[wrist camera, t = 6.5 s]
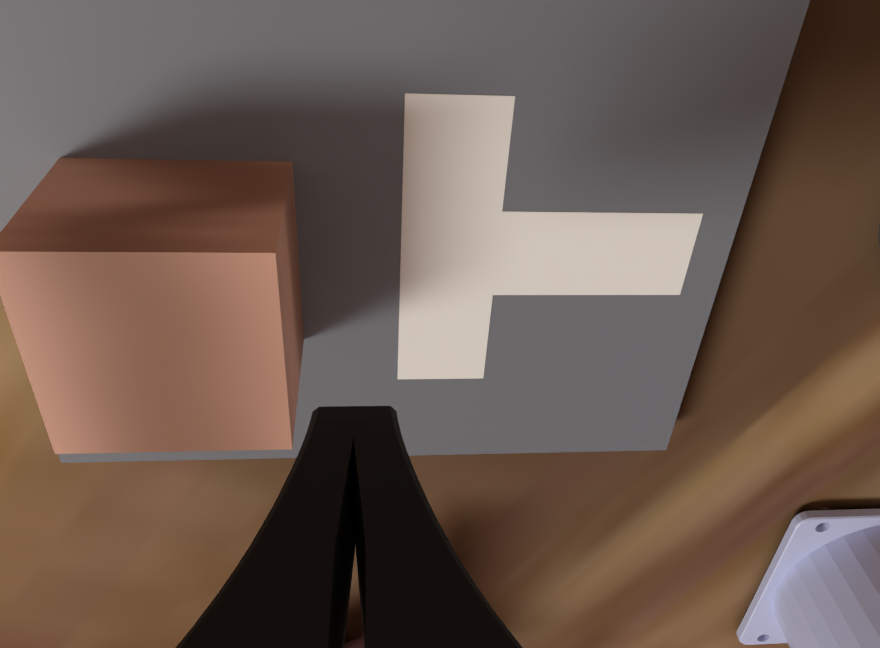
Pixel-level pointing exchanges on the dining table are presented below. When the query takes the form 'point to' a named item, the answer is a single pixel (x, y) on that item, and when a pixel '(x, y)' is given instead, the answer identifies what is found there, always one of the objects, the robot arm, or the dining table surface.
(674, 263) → the board
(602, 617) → the dining table surface
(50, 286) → the terracotta block
